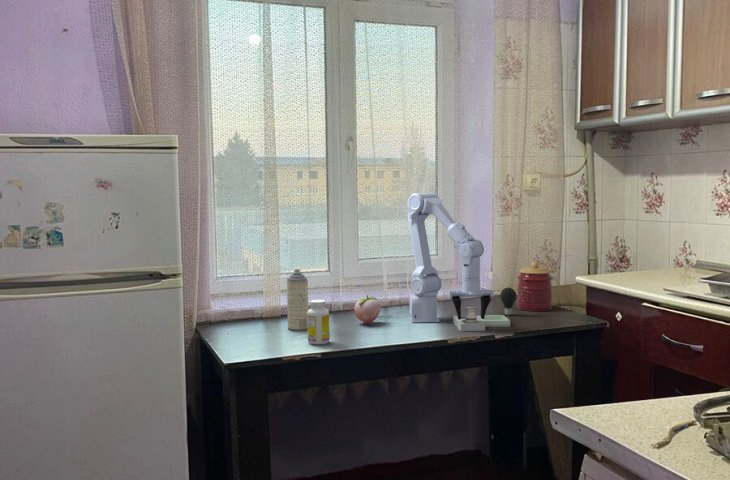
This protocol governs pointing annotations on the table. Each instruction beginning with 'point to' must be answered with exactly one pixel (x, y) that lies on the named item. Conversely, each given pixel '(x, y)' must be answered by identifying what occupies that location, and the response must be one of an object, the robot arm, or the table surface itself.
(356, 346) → the table surface
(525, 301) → the canister
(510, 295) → the light bulb
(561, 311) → the table surface
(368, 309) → the decorative fruit
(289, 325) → the aerosol can
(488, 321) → the parts tray
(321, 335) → the supplement bottle
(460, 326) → the gray rectangular frame
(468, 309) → the fuse
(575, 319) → the table surface
